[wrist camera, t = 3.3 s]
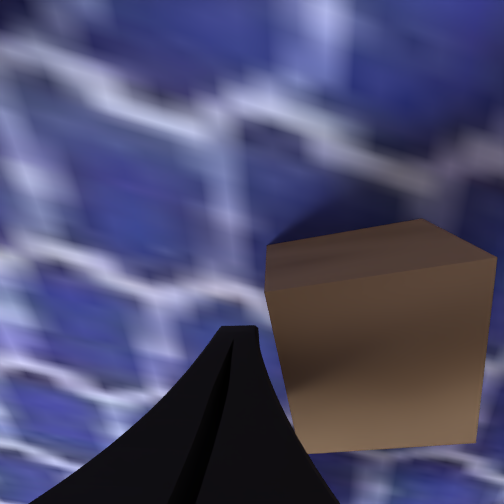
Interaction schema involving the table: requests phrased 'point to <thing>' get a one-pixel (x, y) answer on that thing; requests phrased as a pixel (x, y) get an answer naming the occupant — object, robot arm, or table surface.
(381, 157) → the table surface
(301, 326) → the walnut block
